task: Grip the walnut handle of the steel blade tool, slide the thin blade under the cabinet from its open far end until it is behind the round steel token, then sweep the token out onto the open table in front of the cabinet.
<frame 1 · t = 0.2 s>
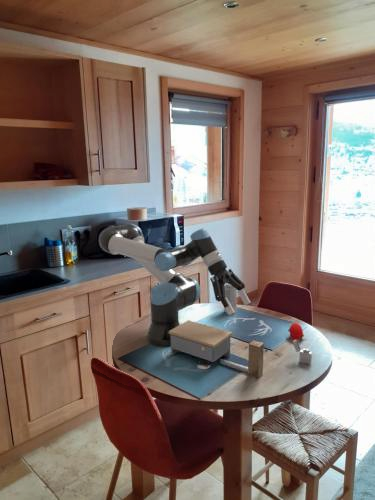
hand: (240, 308, 156), 16 cm above the table, tool tilted 35°, fingers open, 13 cm apart
blade tool: (255, 374, 137), on the table
energy drink can: (230, 312, 195), on the table
lighter: (301, 361, 146), on the table
red egg shape: (295, 338, 165), on the table
steel token: (203, 366, 143), on the table
cabinet: (200, 355, 151), on the table
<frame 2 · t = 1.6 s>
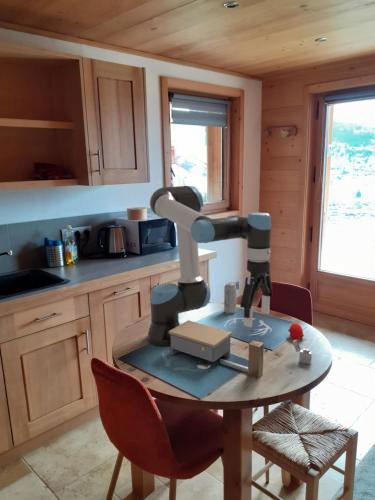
hand: (257, 319, 132), 21 cm above the table, tool pointing down, fingers open, 13 cm apart
nothing on the table moved.
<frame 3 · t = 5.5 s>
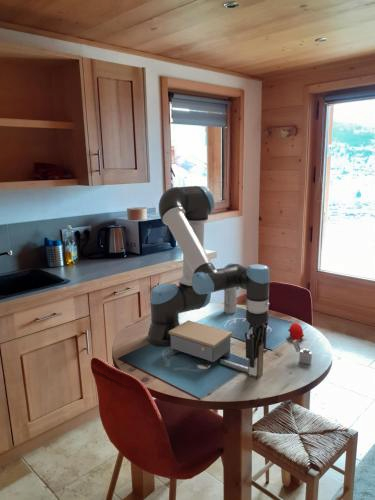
hand: (255, 371, 136), 1 cm above the table, tool pointing down, fingers closed on blade tool, 3 cm apart
blade tool: (255, 374, 137), on the table, touching gripper
everything else where it was.
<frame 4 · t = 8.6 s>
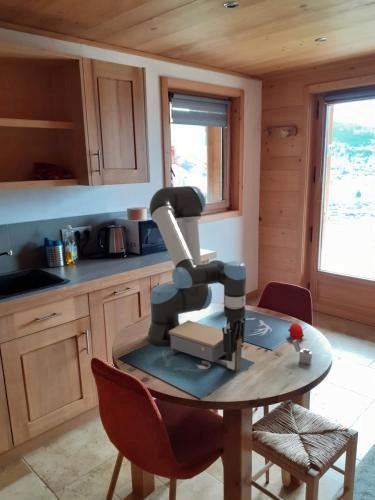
hand: (233, 365, 141), 1 cm above the table, tool pointing down, fingers closed on blade tool, 3 cm apart
blade tool: (234, 368, 141), on the table, touching gripper
everything else where it was.
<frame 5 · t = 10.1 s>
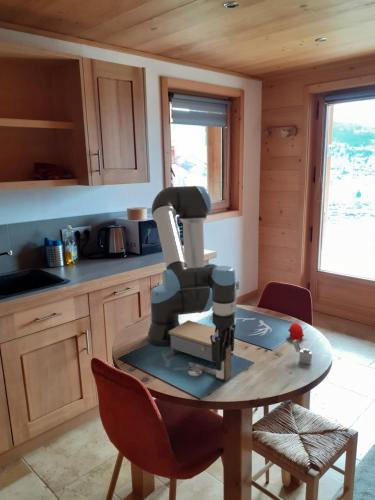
hand: (223, 374, 135), 1 cm above the table, tool pointing down, fingers closed on blade tool, 3 cm apart
blade tool: (223, 377, 135), on the table, touching gripper
steel token: (195, 373, 138), on the table
everything else where it was.
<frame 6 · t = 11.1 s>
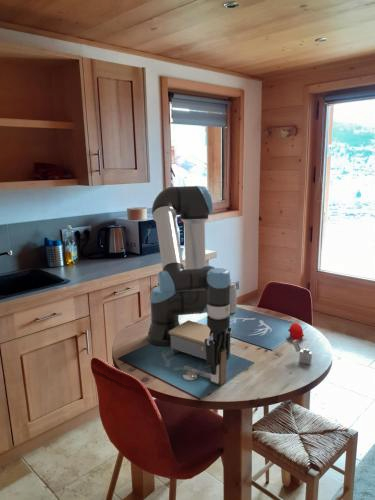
hand: (218, 378, 132), 1 cm above the table, tool pointing down, fingers closed on blade tool, 3 cm apart
blade tool: (218, 381, 132), on the table, touching gripper
steel token: (190, 377, 136), on the table
everything else where it was.
when the fingers open (1 cm above the table, at t = 12.0 s): blade tool stays where it is, on the table.
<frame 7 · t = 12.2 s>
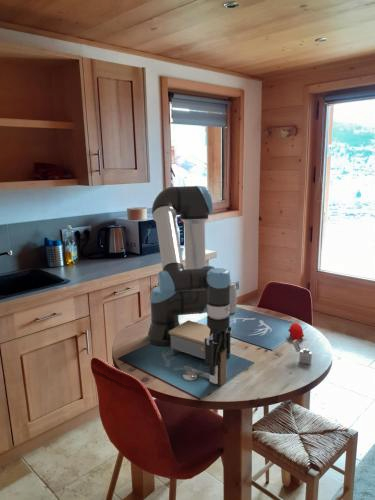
hand: (218, 378, 132), 1 cm above the table, tool pointing down, fingers open, 5 cm apart
blade tool: (218, 381, 132), on the table
everything else where it was.
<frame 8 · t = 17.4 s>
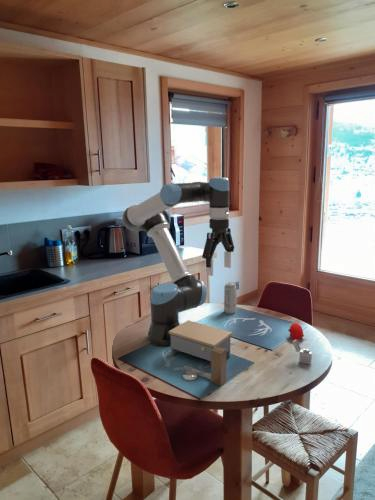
hand: (218, 271, 153), 32 cm above the table, tool pointing down, fingers open, 13 cm apart
nothing on the table moved.
at the end: steel token inside the target area (1.1 cm from its centre), on the table; steel token touching table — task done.
